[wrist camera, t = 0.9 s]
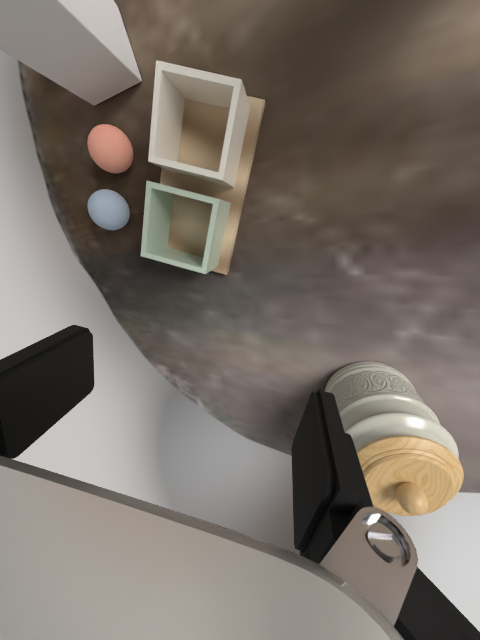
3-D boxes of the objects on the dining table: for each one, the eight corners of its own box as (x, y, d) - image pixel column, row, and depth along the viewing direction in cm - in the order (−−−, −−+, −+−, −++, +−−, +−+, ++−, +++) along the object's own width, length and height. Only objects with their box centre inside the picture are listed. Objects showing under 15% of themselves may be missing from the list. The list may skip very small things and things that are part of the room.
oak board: (174, 83, 30) (170, 78, 29) (265, 104, 29) (264, 99, 28) (156, 253, 38) (152, 254, 36) (228, 273, 37) (226, 274, 36)
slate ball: (104, 187, 35) (77, 182, 31) (138, 196, 35) (116, 192, 30) (104, 224, 37) (78, 225, 33) (135, 233, 37) (114, 235, 32)
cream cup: (180, 90, 29) (156, 60, 23) (250, 106, 28) (241, 79, 23) (171, 171, 32) (148, 161, 27) (233, 187, 32) (223, 180, 26)
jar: (359, 343, 37) (416, 437, 21) (430, 389, 38) (537, 514, 22) (305, 399, 42) (317, 510, 26) (368, 439, 43) (418, 571, 27)
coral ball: (106, 127, 33) (76, 112, 28) (142, 136, 32) (118, 122, 28) (105, 171, 35) (77, 163, 30) (139, 180, 34) (116, 174, 30)
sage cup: (170, 187, 33) (146, 180, 27) (230, 202, 32) (219, 199, 27) (162, 250, 36) (140, 256, 30) (218, 265, 35) (205, 274, 30)
